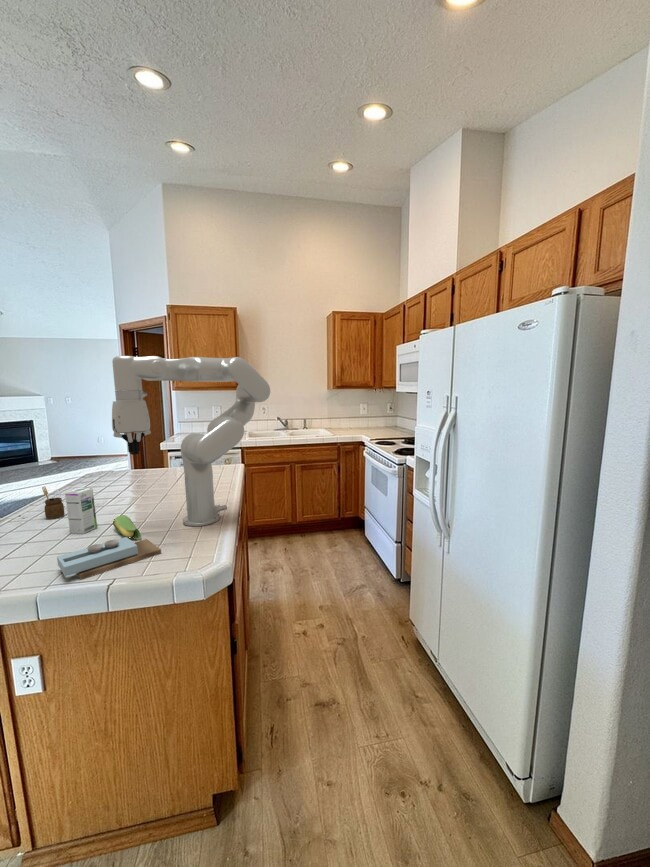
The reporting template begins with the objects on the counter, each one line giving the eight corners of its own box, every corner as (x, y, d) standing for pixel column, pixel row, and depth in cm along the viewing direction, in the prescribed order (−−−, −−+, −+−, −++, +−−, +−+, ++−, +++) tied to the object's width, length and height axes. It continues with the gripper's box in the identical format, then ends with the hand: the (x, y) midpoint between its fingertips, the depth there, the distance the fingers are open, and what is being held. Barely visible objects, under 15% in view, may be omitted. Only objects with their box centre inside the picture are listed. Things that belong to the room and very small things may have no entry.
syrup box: (83, 534, 123) (79, 492, 121) (69, 533, 124) (64, 491, 122) (97, 527, 128) (93, 487, 126) (83, 527, 129) (79, 486, 127)
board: (147, 542, 114) (145, 526, 114) (161, 553, 107) (159, 535, 106) (70, 565, 100) (68, 546, 100) (80, 579, 93) (78, 559, 92)
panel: (127, 544, 109) (126, 536, 109) (137, 553, 103) (137, 545, 103) (57, 565, 97) (56, 556, 97) (65, 576, 91) (64, 567, 91)
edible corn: (127, 512, 131) (113, 512, 128) (144, 529, 116) (129, 529, 113) (124, 527, 130) (110, 527, 127) (140, 545, 116) (125, 546, 113)
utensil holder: (57, 519, 138) (53, 488, 136) (40, 519, 138) (37, 488, 136) (68, 514, 143) (65, 484, 142) (52, 514, 144) (49, 484, 142)
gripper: (149, 395, 123) (154, 449, 125) (98, 397, 112) (104, 456, 114) (158, 395, 117) (162, 452, 120) (106, 397, 107) (112, 459, 109)
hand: (134, 454), depth 117 cm, fingers closed
